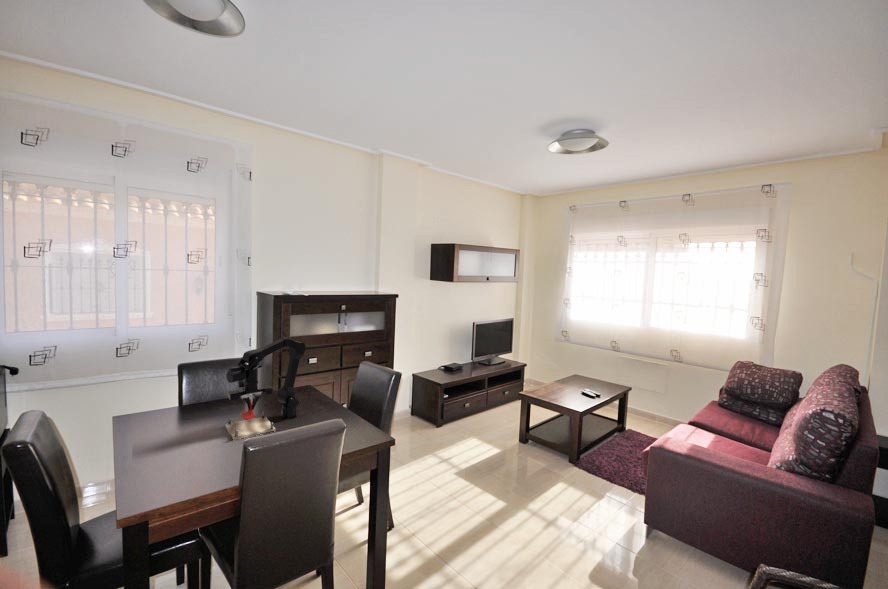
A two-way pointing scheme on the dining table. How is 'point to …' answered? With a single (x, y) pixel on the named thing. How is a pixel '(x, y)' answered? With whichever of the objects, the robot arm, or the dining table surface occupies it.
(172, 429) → the dining table surface
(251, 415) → the bracket
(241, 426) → the peg board
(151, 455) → the dining table surface
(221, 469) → the dining table surface
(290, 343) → the robot arm
